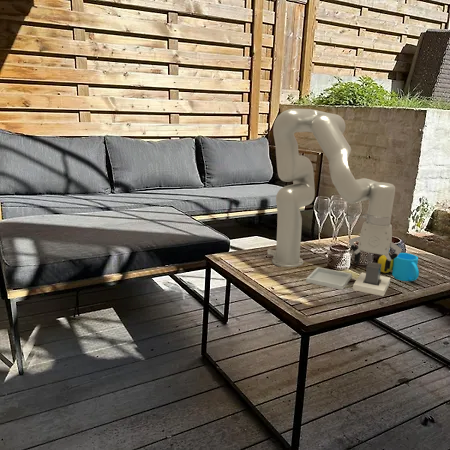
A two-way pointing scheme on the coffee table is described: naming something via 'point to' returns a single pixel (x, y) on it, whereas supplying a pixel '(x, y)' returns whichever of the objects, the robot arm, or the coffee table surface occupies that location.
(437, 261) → the coffee table surface
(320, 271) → the tray
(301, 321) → the coffee table surface
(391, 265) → the lemon
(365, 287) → the block
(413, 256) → the mug
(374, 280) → the plug
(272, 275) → the coffee table surface
